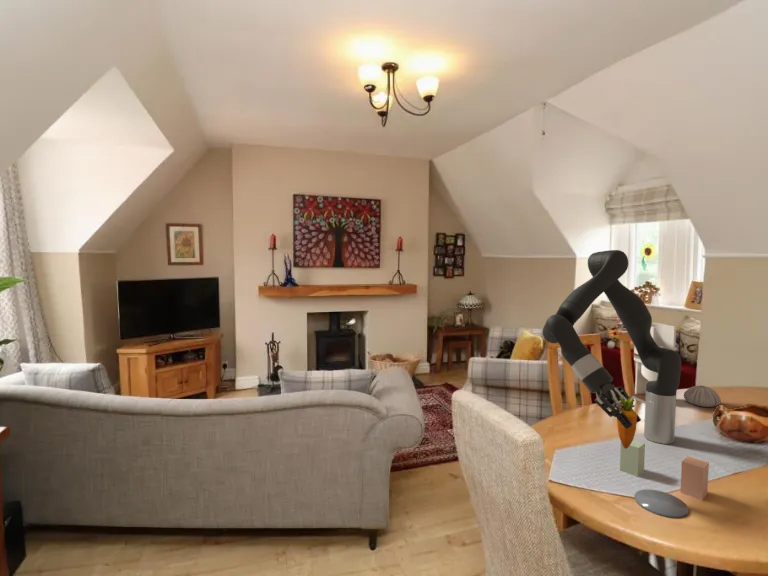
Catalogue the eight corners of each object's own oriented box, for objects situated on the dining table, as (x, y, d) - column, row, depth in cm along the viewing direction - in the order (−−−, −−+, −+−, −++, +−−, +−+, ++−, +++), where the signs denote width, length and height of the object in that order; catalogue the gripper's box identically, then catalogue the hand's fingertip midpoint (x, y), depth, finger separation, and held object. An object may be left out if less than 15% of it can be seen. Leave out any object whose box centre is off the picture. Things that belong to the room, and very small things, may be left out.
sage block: (626, 465, 135) (627, 437, 134) (643, 471, 131) (645, 443, 130) (619, 470, 132) (620, 442, 131) (637, 476, 128) (638, 447, 127)
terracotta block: (686, 486, 122) (687, 456, 122) (707, 493, 118) (708, 462, 118) (680, 492, 119) (681, 461, 118) (701, 500, 115) (703, 468, 115)
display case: (632, 397, 197) (635, 323, 194) (653, 396, 198) (656, 322, 196) (650, 406, 186) (653, 327, 183) (672, 405, 187) (676, 326, 184)
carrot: (611, 444, 122) (613, 394, 121) (628, 444, 123) (630, 393, 121) (622, 453, 117) (624, 400, 116) (639, 452, 118) (641, 399, 116)
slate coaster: (644, 486, 122) (644, 484, 122) (694, 505, 113) (694, 503, 113) (627, 502, 115) (627, 500, 115) (679, 523, 105) (679, 521, 105)
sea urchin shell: (688, 407, 185) (689, 389, 184) (679, 397, 198) (680, 380, 197) (725, 410, 180) (726, 392, 180) (713, 400, 193) (714, 383, 192)
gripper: (589, 370, 119) (633, 425, 111) (612, 361, 128) (655, 411, 120) (570, 384, 124) (612, 438, 116) (593, 375, 133) (634, 424, 125)
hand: (633, 424), depth 118 cm, fingers closed on carrot, 5 cm apart
